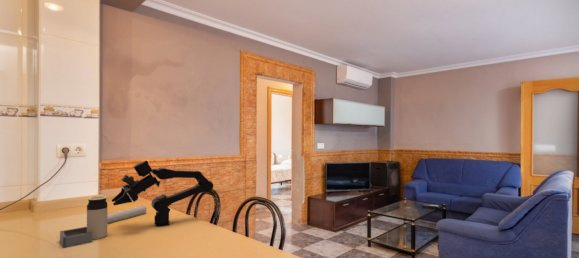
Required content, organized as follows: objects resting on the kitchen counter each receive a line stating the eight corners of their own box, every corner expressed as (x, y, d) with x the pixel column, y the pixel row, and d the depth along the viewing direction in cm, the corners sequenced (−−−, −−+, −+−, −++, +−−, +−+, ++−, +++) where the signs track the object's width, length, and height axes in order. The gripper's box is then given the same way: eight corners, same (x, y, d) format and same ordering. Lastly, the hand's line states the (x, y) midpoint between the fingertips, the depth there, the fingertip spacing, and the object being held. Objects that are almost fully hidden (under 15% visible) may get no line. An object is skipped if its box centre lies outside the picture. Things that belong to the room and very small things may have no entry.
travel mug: (111, 235, 141) (111, 196, 141) (93, 241, 134) (94, 199, 134) (100, 233, 144) (100, 195, 144) (82, 238, 137) (82, 198, 137)
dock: (87, 235, 142) (87, 226, 142) (92, 242, 132) (92, 232, 132) (59, 240, 135) (59, 231, 135) (62, 248, 125) (62, 238, 126)
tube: (105, 218, 157) (147, 207, 179) (99, 213, 159) (141, 203, 181) (103, 227, 158) (145, 215, 180) (97, 223, 160) (139, 211, 182)
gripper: (132, 169, 159) (102, 186, 151) (138, 172, 144) (104, 191, 136) (144, 186, 162) (114, 204, 154) (150, 192, 147) (118, 212, 139)
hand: (112, 202), depth 146 cm, fingers open, 9 cm apart
